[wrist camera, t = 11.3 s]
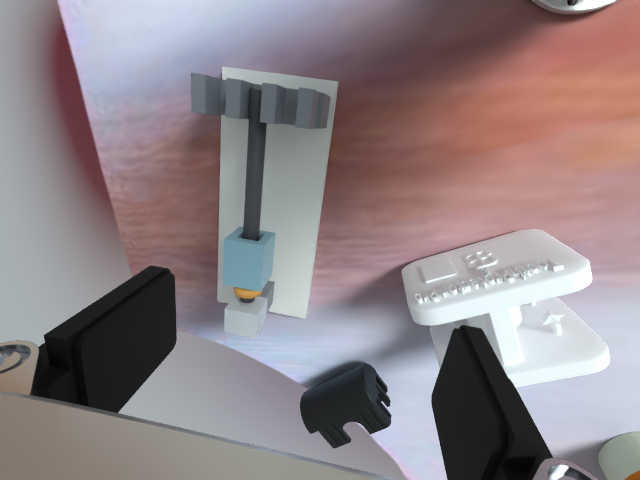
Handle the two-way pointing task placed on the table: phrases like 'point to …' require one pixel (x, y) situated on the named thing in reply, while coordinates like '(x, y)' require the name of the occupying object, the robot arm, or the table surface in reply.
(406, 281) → the cable organizer
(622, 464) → the reusable coffee cup
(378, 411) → the end cap
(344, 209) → the table surface
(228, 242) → the sleeve
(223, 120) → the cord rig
